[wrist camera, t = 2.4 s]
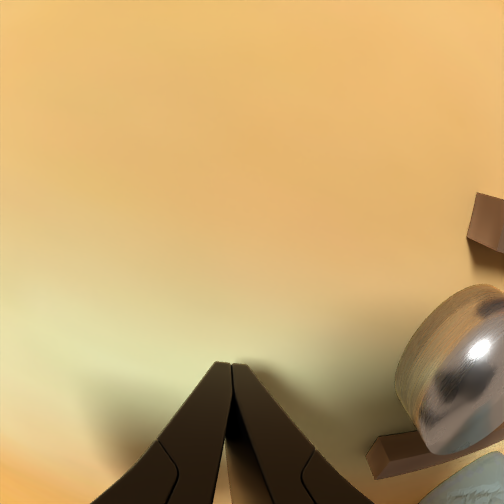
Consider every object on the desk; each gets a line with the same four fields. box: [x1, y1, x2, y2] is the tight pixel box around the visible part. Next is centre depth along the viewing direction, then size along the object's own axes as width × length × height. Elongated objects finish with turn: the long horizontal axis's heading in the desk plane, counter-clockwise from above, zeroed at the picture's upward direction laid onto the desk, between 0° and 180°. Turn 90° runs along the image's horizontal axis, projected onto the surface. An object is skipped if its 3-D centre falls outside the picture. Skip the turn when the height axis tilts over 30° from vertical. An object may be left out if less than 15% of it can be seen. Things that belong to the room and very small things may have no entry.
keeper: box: [395, 284, 504, 455], centre depth 9 cm, size 6×6×3 cm
